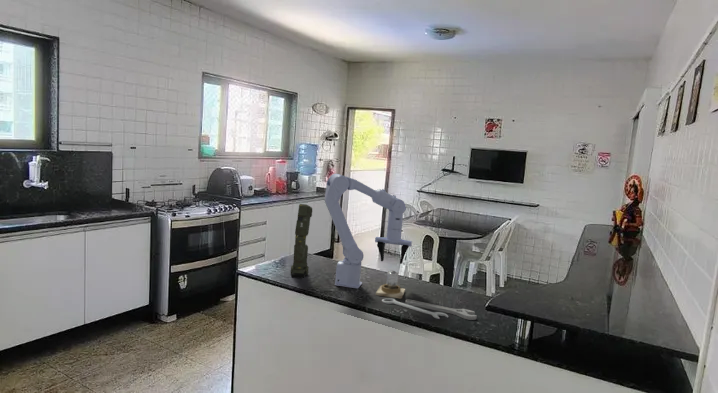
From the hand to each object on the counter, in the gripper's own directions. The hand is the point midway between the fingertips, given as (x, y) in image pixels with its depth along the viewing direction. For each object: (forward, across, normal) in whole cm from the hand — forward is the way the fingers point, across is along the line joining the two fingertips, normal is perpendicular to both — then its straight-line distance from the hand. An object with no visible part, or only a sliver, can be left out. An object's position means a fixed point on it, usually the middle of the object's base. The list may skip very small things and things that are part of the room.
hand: (391, 261), depth 184 cm
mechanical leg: (+10, -37, -3) cm, 39 cm away
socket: (+9, +2, -10) cm, 14 cm away
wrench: (+10, +13, -24) cm, 29 cm away
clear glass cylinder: (+8, +2, -11) cm, 14 cm away
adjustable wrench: (+10, +22, -20) cm, 31 cm away
